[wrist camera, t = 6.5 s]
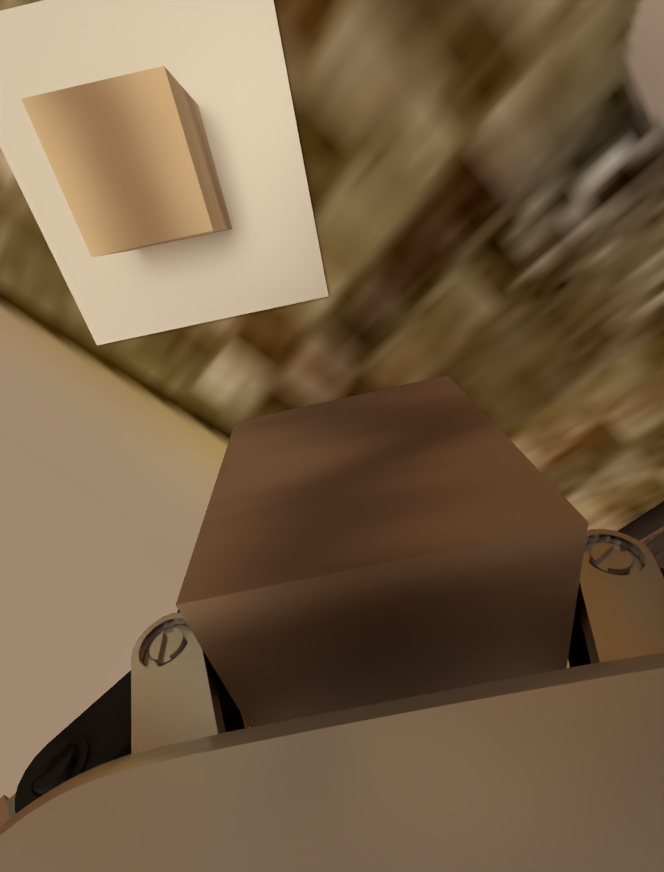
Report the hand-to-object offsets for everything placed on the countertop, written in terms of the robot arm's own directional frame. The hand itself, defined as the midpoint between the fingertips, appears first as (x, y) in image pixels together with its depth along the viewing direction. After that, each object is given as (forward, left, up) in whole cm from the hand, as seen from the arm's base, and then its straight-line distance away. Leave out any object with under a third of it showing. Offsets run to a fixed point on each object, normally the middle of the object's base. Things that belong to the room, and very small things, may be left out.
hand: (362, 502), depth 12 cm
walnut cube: (0, 0, -1) cm, 1 cm away
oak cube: (+7, -11, -18) cm, 22 cm away
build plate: (+7, -11, -19) cm, 23 cm away
